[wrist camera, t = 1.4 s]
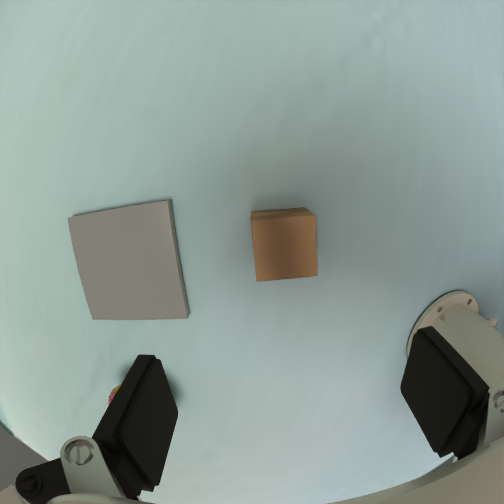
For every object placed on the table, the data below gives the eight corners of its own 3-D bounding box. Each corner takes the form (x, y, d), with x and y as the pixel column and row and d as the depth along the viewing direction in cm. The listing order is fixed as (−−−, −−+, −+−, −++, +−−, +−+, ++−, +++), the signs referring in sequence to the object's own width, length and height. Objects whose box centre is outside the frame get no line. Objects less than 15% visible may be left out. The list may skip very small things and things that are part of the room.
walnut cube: (304, 207, 26) (315, 215, 21) (306, 257, 28) (317, 275, 23) (251, 211, 26) (251, 220, 22) (256, 262, 28) (256, 281, 23)
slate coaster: (171, 199, 26) (167, 200, 25) (189, 313, 29) (187, 318, 28) (73, 216, 26) (67, 218, 25) (97, 314, 30) (92, 319, 28)
